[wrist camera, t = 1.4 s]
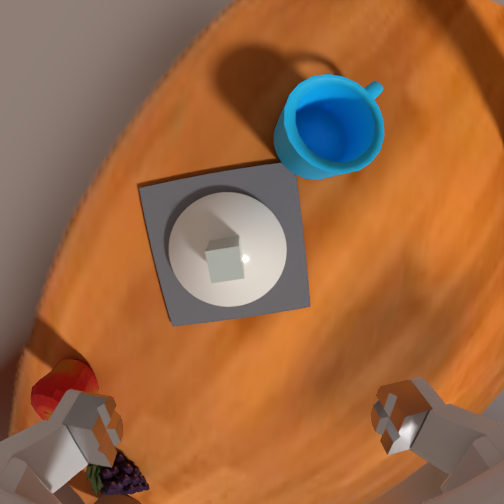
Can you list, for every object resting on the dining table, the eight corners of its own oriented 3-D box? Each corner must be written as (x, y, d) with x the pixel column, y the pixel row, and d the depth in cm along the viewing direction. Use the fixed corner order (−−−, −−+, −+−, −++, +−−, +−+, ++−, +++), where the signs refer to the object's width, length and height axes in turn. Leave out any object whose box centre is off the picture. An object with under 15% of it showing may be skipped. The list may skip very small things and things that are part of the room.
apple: (49, 362, 36) (12, 409, 24) (74, 339, 35) (32, 391, 23) (88, 400, 38) (60, 452, 26) (117, 382, 37) (89, 441, 25)
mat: (292, 161, 30) (293, 161, 29) (309, 304, 34) (310, 306, 33) (140, 187, 30) (139, 188, 29) (173, 323, 34) (172, 326, 33)
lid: (277, 183, 30) (283, 186, 25) (291, 293, 33) (299, 314, 28) (160, 203, 30) (145, 210, 25) (184, 309, 33) (176, 331, 28)
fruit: (139, 467, 47) (72, 444, 41) (161, 458, 44) (85, 433, 37) (138, 508, 39) (66, 489, 32) (161, 506, 35) (78, 485, 29)
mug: (311, 196, 30) (335, 196, 22) (256, 136, 28) (260, 115, 20) (387, 126, 28) (426, 109, 20) (336, 70, 27) (362, 37, 19)
